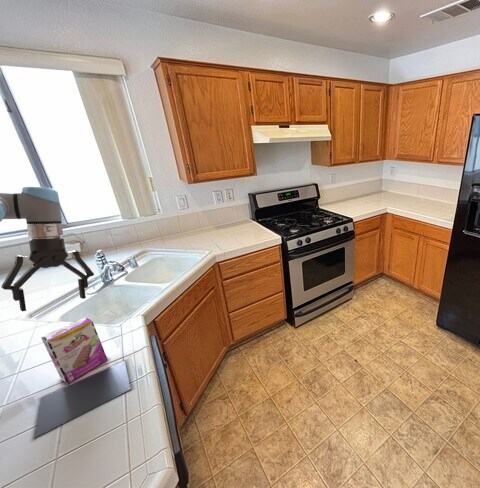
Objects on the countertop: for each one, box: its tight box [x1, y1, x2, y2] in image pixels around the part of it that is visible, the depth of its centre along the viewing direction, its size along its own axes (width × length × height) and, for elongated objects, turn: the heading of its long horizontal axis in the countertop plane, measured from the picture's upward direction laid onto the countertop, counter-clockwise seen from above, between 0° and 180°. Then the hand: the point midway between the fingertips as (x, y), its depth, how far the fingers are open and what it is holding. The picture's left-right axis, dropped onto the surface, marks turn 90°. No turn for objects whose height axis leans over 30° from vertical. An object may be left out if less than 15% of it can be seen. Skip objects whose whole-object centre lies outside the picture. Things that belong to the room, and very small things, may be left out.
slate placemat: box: [34, 360, 132, 439], centre depth 77 cm, size 20×16×1 cm
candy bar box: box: [40, 316, 108, 385], centre depth 84 cm, size 11×5×16 cm, turn 154°
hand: (55, 303), depth 84 cm, fingers open, 13 cm apart
